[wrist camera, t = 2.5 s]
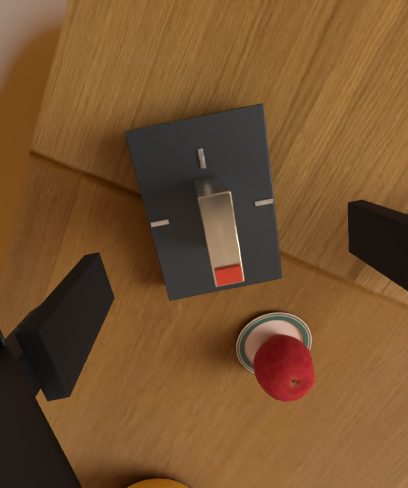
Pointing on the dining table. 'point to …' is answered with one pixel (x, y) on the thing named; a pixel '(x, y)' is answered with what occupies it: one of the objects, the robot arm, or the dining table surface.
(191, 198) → the dial panel
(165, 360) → the dining table surface
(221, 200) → the pointer knob
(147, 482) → the vase
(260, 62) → the dining table surface
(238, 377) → the dining table surface
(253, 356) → the apple
